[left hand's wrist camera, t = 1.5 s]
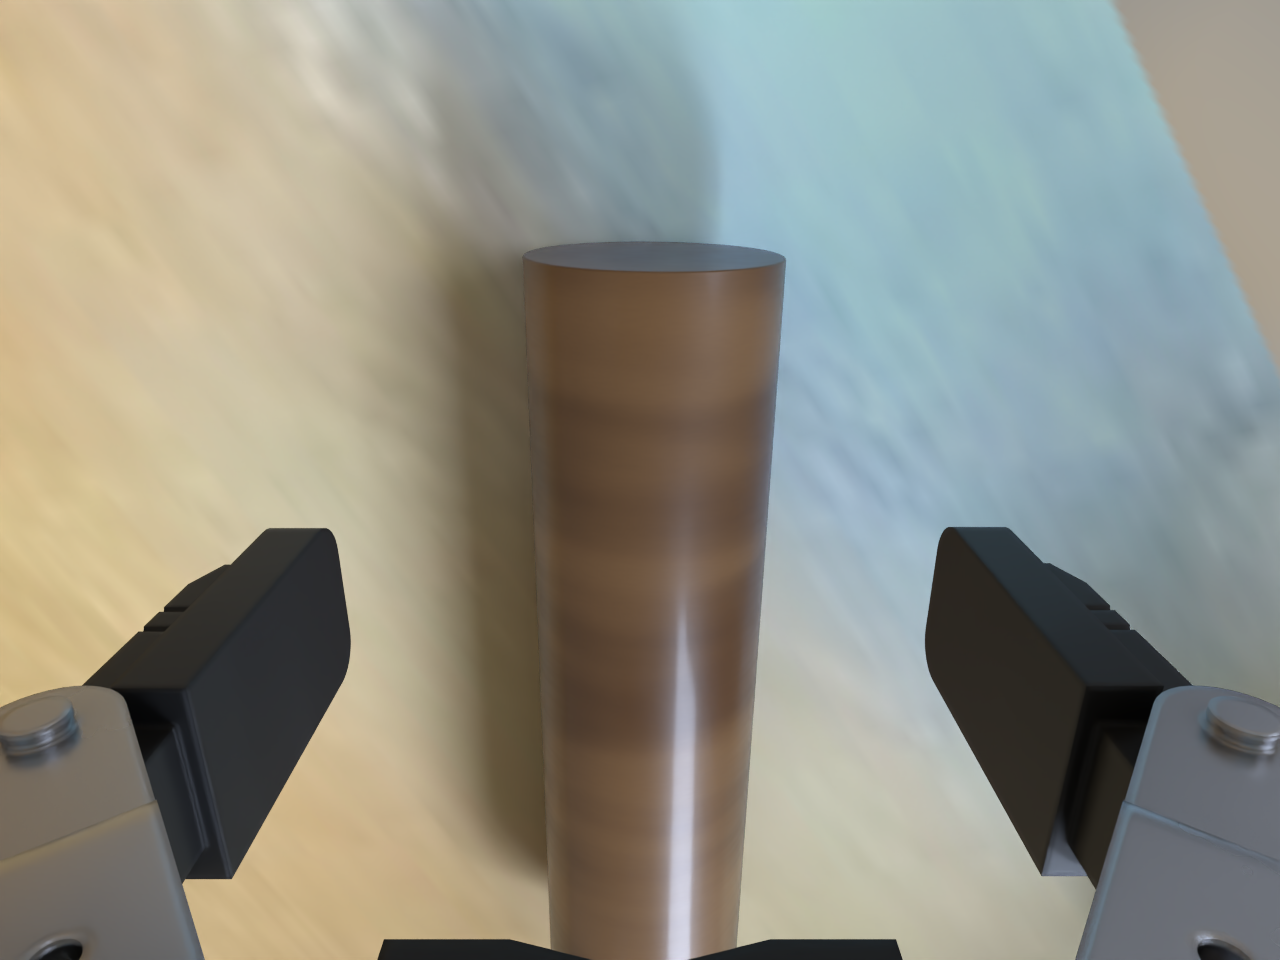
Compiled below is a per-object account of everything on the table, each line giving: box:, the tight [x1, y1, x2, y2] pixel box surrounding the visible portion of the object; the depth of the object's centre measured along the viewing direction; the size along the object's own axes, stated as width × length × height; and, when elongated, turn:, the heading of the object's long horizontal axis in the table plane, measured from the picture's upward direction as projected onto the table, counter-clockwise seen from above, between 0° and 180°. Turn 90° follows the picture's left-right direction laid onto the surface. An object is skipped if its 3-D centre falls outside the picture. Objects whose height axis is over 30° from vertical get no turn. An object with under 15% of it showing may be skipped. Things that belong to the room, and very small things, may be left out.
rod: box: [523, 242, 786, 960], centre depth 24 cm, size 24×6×6 cm, turn 179°
